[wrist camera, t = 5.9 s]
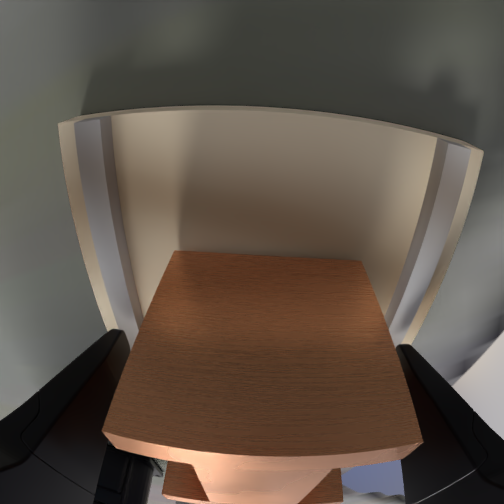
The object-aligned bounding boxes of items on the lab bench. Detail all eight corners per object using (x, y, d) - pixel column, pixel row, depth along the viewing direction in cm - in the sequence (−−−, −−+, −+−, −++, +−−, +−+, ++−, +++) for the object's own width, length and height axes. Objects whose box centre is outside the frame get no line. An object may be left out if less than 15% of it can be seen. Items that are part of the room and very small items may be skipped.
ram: (320, 427, 14) (325, 520, 9) (185, 420, 14) (168, 513, 9) (389, 262, 8) (462, 431, 4) (144, 248, 8) (57, 416, 4)
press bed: (328, 450, 19) (329, 470, 18) (170, 441, 19) (166, 461, 18) (463, 140, 8) (496, 157, 6) (79, 115, 8) (45, 128, 6)
